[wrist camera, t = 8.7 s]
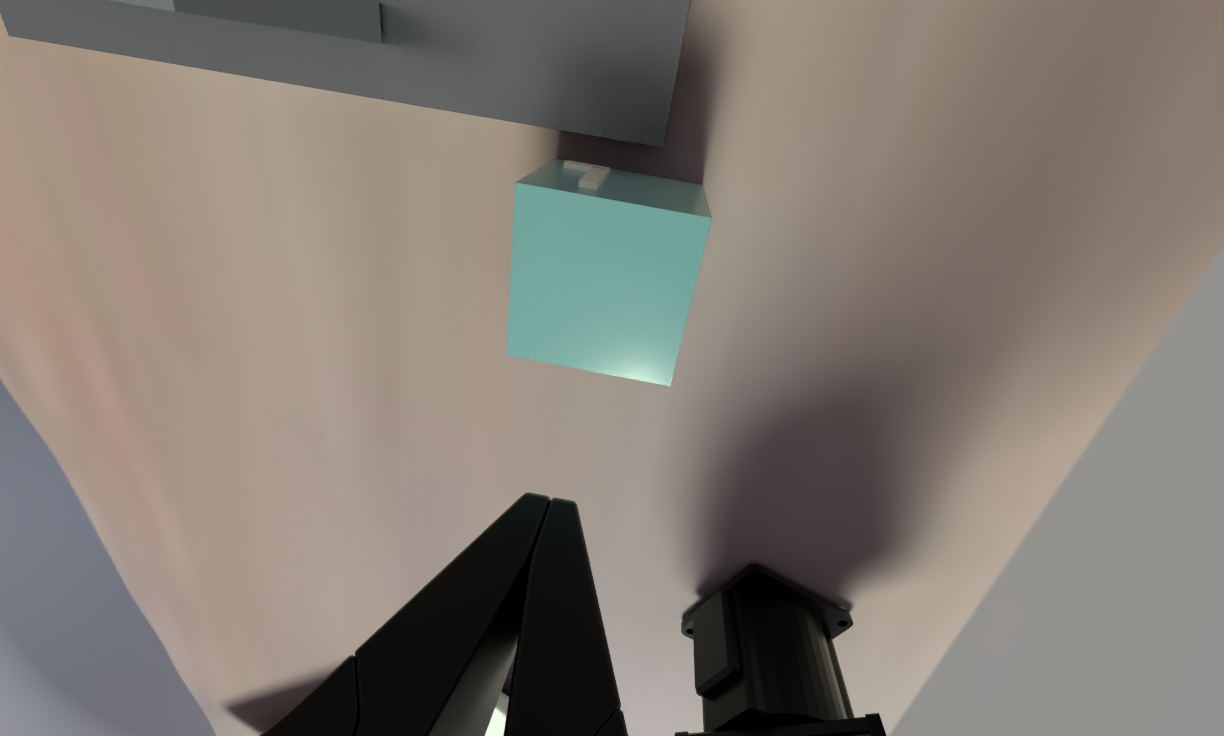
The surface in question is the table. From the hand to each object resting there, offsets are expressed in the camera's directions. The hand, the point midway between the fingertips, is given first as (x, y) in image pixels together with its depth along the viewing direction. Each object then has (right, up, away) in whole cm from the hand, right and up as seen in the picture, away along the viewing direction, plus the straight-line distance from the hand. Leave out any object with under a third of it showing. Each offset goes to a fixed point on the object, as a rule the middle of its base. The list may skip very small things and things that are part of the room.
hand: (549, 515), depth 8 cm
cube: (+1, +7, +10) cm, 12 cm away
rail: (-7, +13, +7) cm, 17 cm away
